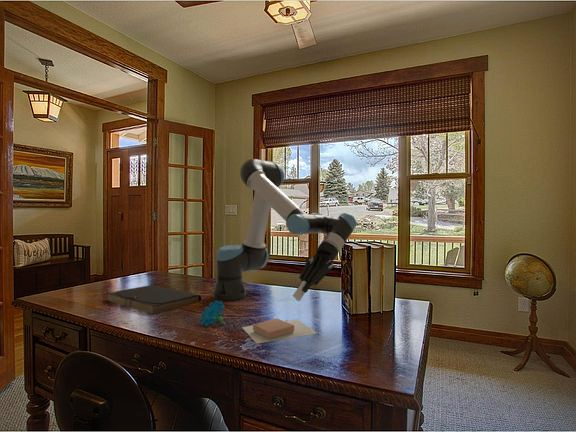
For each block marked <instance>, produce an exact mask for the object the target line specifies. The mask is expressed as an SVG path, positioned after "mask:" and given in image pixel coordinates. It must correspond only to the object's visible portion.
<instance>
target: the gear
mask: <svg viewBox="0 0 576 432" xmlns="http://www.w3.org/2000/svg"><path fill="white" fill-rule="evenodd" d="M224 308H225V305H224V304H223V301H222V300H217V299H215V300H214V302H212V301H211V302H209V306H207V305H206V306H205V307H203V309H204V311H205V312H204V311H202V312H201V313H200V314H199V315H200V316H201V317H200V318H199V322H200V324H201V326H205V327H209V326H210V325H215V323H216V322H218V323H219V324H222V326H223V325H226V322H224V318H223V317H222V316H221V315H223V314H224V310H223V309H224ZM219 315H220V316H219Z"/></svg>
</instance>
